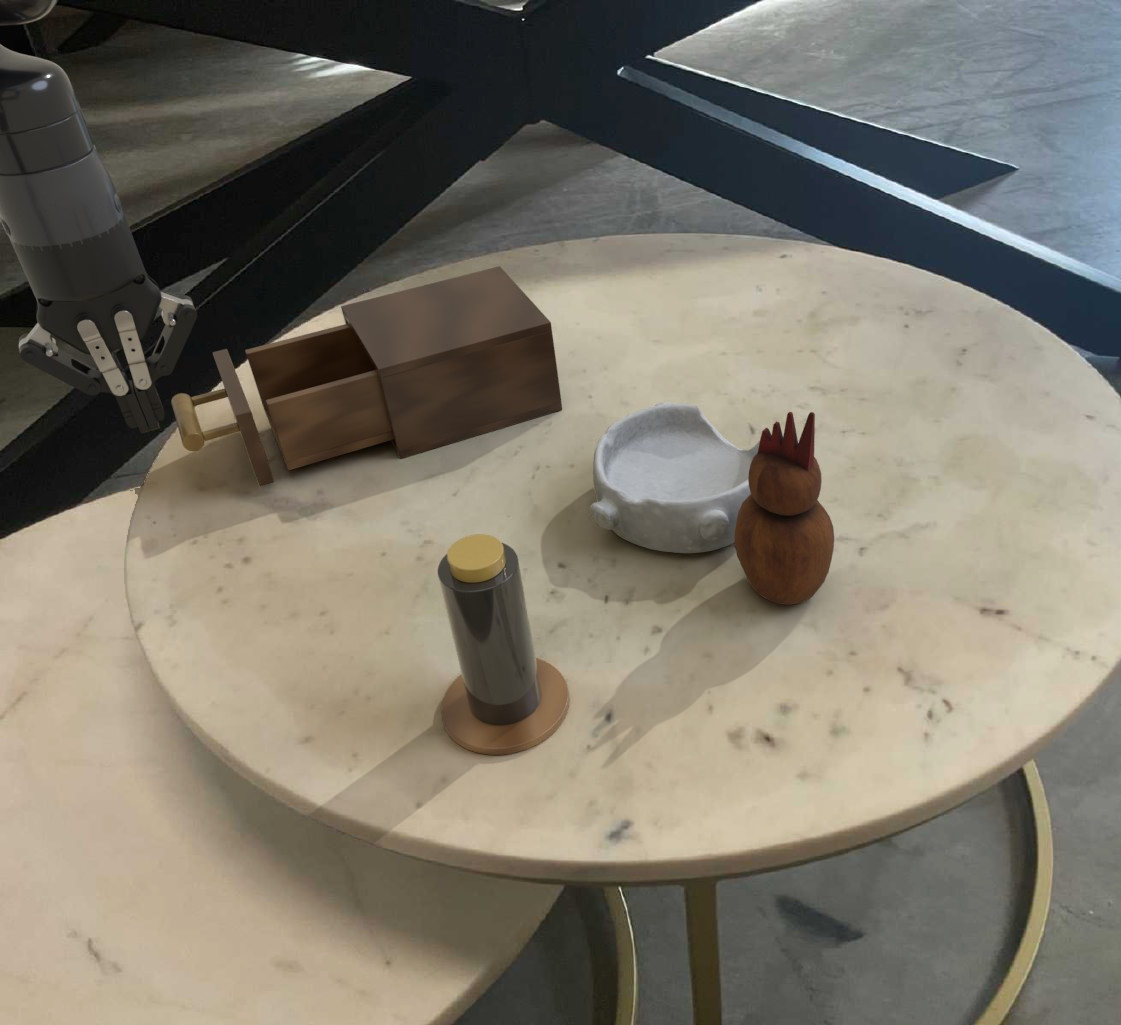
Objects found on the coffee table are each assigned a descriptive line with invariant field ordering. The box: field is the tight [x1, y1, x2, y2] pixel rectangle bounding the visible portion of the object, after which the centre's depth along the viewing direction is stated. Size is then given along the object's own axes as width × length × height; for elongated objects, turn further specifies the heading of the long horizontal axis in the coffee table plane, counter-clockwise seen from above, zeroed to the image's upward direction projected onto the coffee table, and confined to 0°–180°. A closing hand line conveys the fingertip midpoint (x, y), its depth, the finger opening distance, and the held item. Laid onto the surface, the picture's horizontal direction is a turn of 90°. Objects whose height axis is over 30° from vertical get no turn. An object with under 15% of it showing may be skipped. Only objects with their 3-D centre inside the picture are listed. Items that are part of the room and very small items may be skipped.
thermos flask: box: [437, 533, 542, 725], centre depth 68 cm, size 5×5×12 cm
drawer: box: [171, 323, 394, 488], centre depth 94 cm, size 18×11×7 cm, turn 117°
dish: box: [589, 401, 760, 554], centre depth 86 cm, size 14×14×5 cm
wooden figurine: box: [734, 411, 835, 606], centre depth 75 cm, size 7×6×15 cm
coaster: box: [440, 657, 571, 756], centre depth 72 cm, size 8×8×1 cm
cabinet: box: [340, 265, 563, 459], centre depth 99 cm, size 15×13×9 cm
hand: (149, 426), depth 90 cm, fingers closed
